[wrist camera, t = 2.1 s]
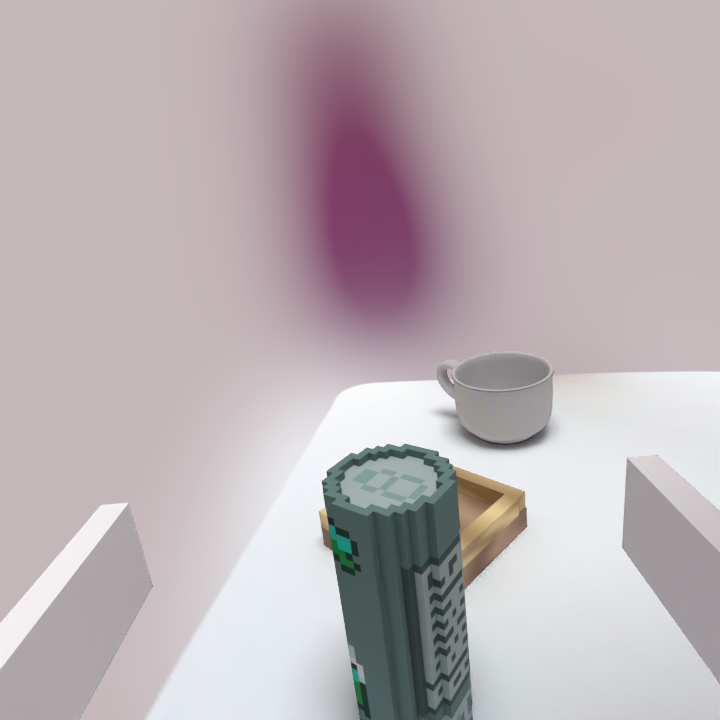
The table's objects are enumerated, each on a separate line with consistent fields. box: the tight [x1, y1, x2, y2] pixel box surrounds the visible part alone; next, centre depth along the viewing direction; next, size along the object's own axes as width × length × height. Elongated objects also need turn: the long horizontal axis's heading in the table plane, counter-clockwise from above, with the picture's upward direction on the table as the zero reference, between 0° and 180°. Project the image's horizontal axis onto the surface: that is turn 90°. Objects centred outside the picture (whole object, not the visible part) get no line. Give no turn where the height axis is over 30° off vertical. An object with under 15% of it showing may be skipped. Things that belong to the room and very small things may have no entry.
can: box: [322, 444, 472, 720], centre depth 27 cm, size 6×6×15 cm
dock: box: [319, 466, 527, 589], centre depth 43 cm, size 12×12×3 cm
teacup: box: [437, 351, 554, 444], centre depth 59 cm, size 14×11×8 cm
